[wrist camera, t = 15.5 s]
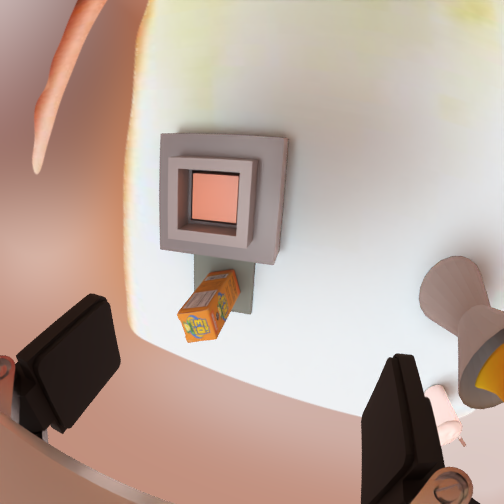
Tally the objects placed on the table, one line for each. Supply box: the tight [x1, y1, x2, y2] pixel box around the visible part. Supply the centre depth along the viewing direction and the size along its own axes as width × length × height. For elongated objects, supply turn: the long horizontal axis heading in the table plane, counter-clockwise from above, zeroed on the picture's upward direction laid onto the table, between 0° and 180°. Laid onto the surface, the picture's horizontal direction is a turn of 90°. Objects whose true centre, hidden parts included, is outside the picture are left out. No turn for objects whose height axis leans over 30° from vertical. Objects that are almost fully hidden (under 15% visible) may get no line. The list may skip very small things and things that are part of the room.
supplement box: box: [177, 269, 240, 343], centre depth 32 cm, size 3×3×10 cm
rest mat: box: [194, 254, 255, 314], centre depth 37 cm, size 7×7×1 cm
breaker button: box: [192, 171, 240, 223], centre depth 31 cm, size 4×4×3 cm
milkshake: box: [424, 385, 466, 447], centre depth 32 cm, size 4×5×10 cm
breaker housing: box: [159, 133, 289, 265], centre depth 30 cm, size 12×12×6 cm
